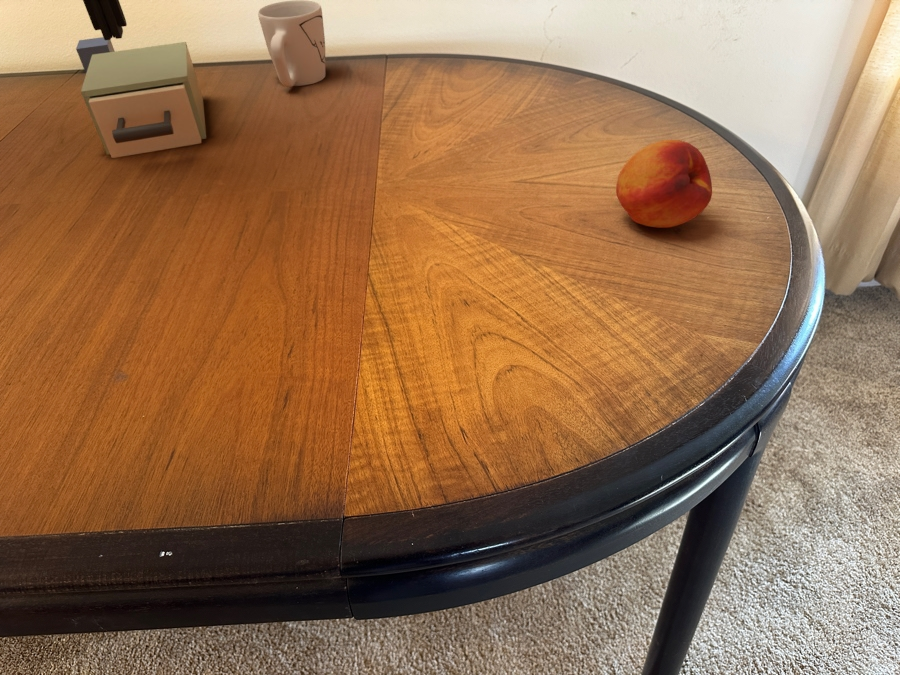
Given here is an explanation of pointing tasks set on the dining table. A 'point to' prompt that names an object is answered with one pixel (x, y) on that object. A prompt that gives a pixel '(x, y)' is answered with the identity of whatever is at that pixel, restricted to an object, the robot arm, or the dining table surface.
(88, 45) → the block
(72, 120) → the dining table surface
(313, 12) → the mug
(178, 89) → the drawer
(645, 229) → the dining table surface
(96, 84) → the cabinet
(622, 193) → the fruit
